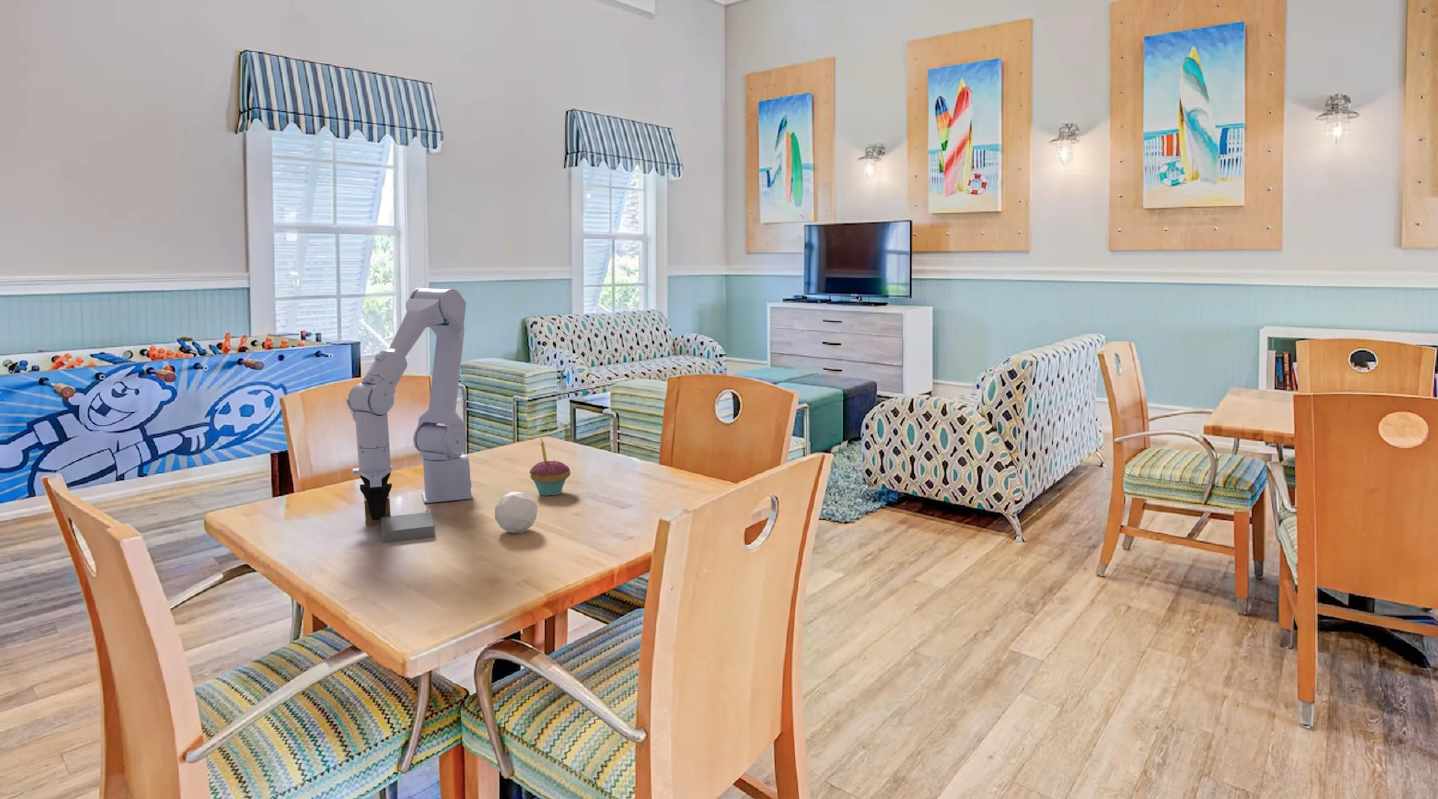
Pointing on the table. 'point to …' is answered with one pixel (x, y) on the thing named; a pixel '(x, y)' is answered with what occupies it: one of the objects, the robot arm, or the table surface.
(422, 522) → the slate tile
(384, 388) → the robot arm
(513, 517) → the geometric ball
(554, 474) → the cupcake
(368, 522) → the walnut block
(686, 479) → the table surface
